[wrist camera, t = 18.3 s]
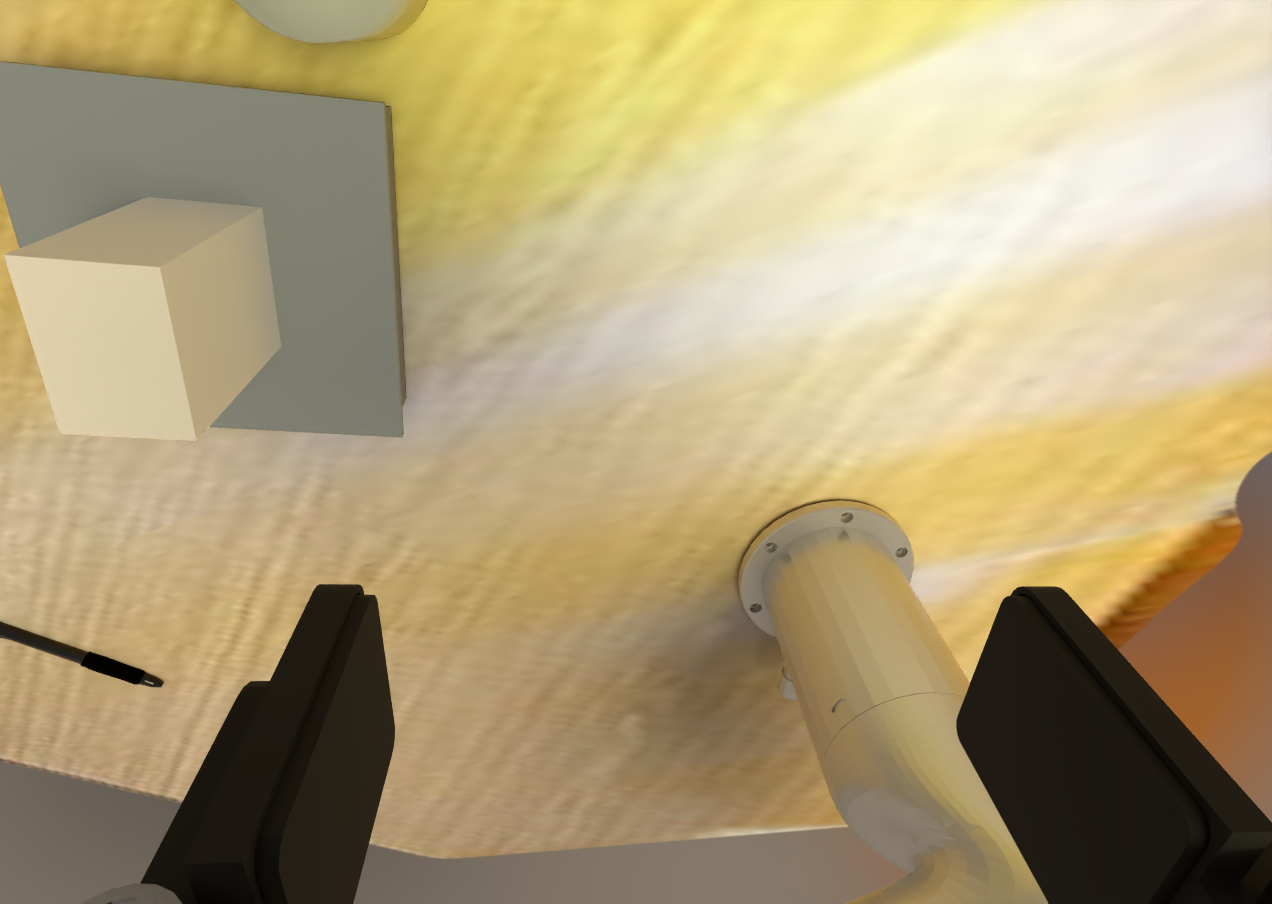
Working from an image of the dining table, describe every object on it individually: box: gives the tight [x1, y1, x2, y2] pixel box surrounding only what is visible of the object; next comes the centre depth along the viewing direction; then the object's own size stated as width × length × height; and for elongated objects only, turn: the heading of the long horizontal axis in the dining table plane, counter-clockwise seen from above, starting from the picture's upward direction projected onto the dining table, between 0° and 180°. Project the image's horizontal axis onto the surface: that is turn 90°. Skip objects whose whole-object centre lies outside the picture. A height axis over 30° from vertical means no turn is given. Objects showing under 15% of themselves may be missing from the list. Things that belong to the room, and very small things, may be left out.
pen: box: [0, 622, 163, 687], centre depth 52 cm, size 14×2×1 cm, turn 55°
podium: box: [0, 61, 406, 437], centre depth 38 cm, size 17×17×4 cm
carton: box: [4, 197, 281, 441], centre depth 32 cm, size 5×7×10 cm
